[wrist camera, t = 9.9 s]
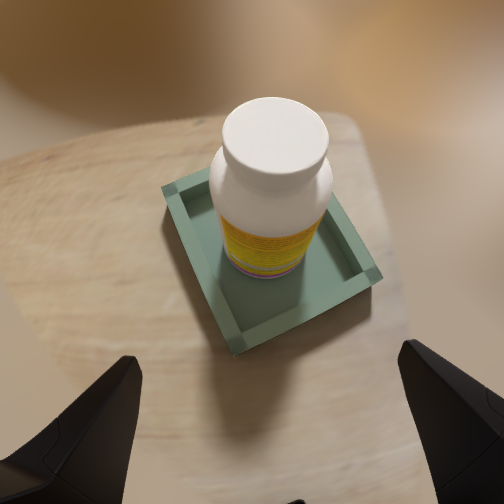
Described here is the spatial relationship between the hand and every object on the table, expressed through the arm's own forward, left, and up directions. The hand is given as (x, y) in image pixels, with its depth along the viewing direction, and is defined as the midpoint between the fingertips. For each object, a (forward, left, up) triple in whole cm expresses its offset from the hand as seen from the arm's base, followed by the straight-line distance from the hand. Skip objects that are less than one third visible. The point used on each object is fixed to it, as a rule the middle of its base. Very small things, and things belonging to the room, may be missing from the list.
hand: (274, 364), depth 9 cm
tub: (+8, -4, -14) cm, 17 cm away
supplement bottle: (+8, -4, -13) cm, 16 cm away
